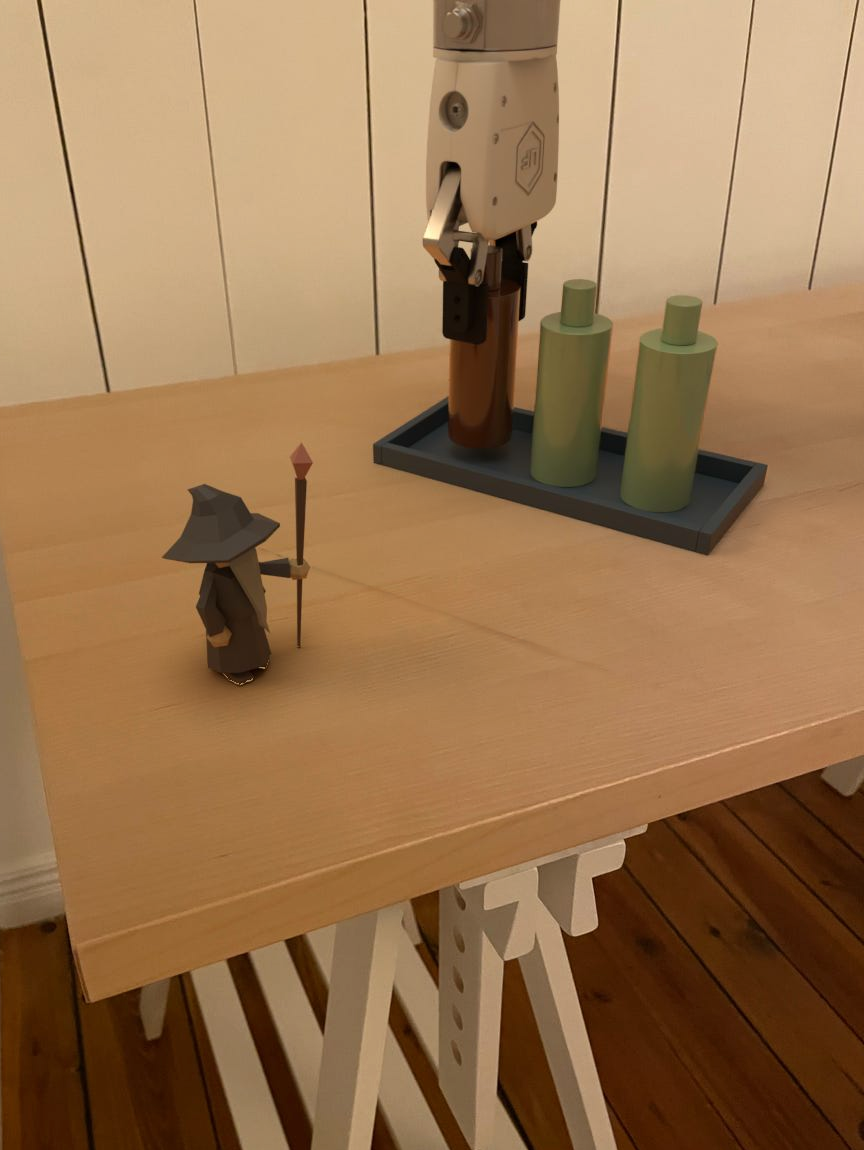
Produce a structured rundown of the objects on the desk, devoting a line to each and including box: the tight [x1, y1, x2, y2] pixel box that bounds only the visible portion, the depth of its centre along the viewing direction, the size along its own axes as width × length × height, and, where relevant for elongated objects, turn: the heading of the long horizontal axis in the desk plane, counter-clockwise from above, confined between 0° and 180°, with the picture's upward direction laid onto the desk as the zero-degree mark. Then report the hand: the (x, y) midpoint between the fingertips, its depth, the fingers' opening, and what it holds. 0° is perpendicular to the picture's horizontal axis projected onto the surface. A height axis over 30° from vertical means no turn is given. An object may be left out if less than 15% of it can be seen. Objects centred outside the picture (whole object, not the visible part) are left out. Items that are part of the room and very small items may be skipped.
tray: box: [372, 395, 769, 556], centre depth 73 cm, size 26×12×2 cm, turn 56°
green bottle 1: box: [530, 278, 614, 487], centre depth 69 cm, size 5×5×14 cm
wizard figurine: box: [161, 442, 314, 685], centre depth 53 cm, size 8×6×12 cm
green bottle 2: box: [620, 294, 719, 513], centre depth 66 cm, size 5×5×14 cm
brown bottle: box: [448, 244, 520, 449], centre depth 72 cm, size 5×5×14 cm
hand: (484, 326), depth 71 cm, fingers closed on brown bottle, 4 cm apart
